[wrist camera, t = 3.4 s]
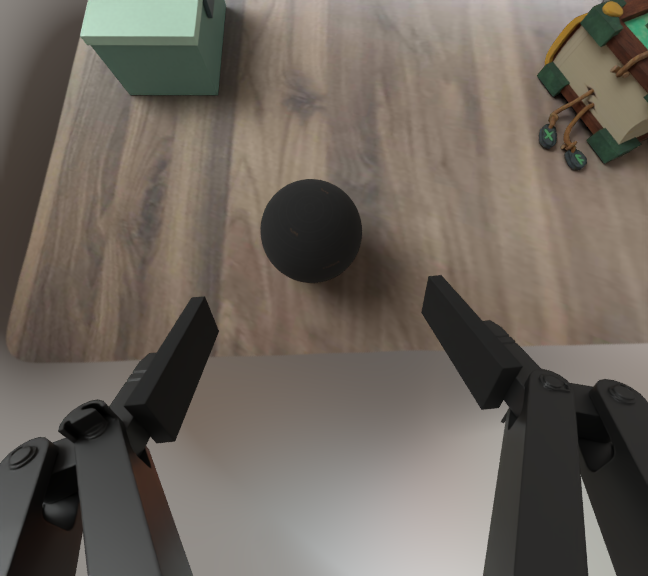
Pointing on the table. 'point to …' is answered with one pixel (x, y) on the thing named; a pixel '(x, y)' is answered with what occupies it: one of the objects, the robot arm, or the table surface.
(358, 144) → the table surface
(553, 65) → the book
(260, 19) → the table surface
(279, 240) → the speaker
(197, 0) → the box
